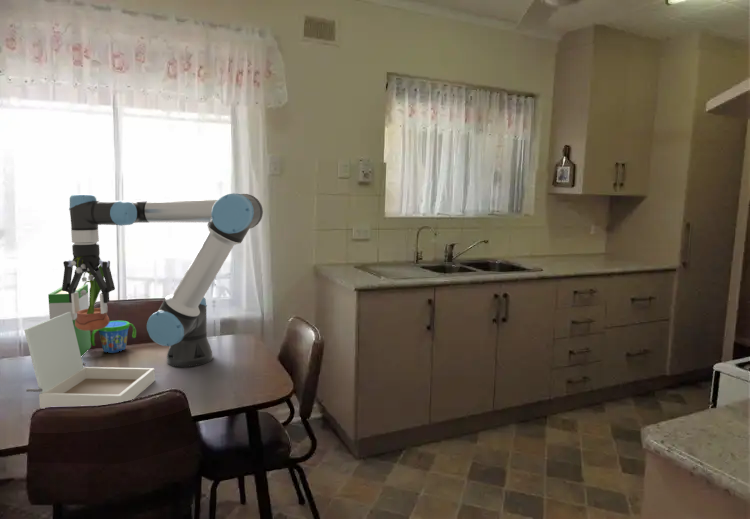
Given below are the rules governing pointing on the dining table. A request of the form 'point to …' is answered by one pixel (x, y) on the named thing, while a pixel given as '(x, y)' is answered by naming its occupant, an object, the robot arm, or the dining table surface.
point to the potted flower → (90, 304)
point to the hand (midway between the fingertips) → (90, 312)
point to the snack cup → (114, 336)
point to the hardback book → (62, 305)
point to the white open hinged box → (77, 369)
